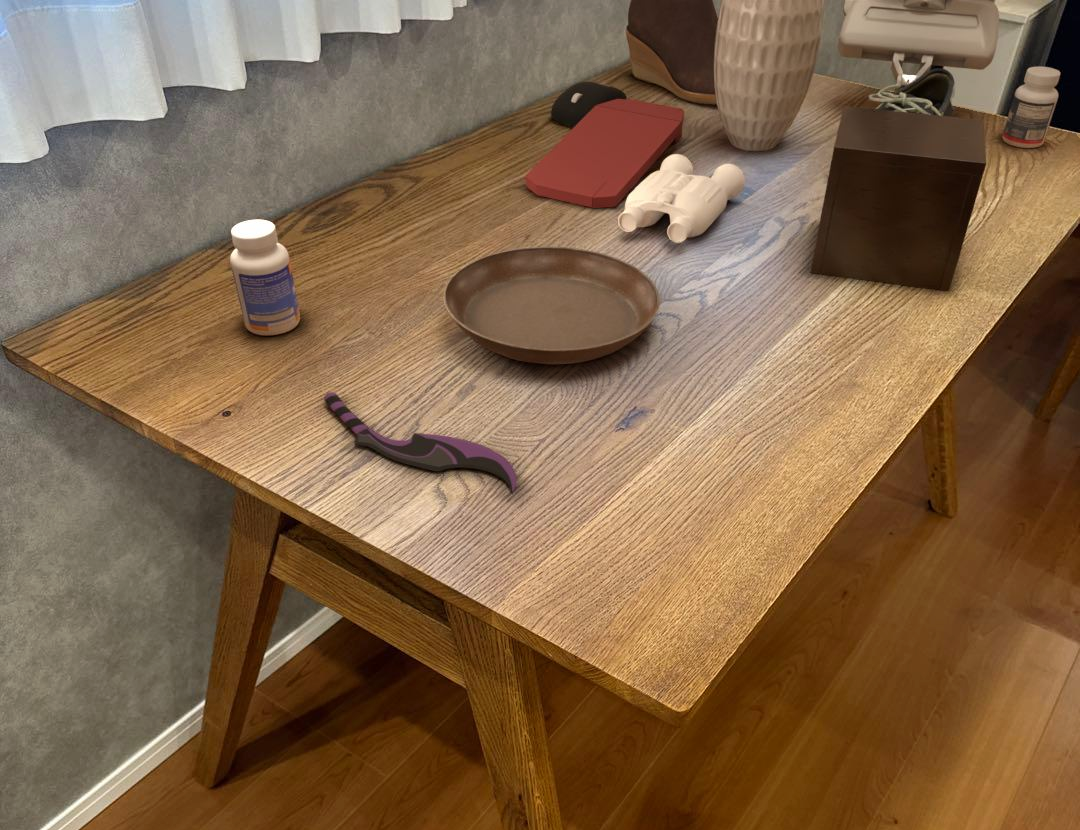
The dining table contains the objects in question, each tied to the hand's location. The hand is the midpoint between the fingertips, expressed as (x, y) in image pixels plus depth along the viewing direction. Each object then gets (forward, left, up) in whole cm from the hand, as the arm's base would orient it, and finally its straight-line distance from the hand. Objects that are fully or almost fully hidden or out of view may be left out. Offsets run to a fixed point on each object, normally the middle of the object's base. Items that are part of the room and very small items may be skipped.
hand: (905, 91), depth 137 cm
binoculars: (+23, +39, -5) cm, 45 cm away
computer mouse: (+41, +9, -5) cm, 42 cm away
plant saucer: (+30, +66, -5) cm, 72 cm away
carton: (+34, +26, -5) cm, 43 cm away
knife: (+35, +88, -4) cm, 95 cm away
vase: (+18, +13, -5) cm, 23 cm away
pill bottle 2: (-16, +2, -5) cm, 17 cm away
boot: (+30, -5, -5) cm, 31 cm away
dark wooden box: (0, +42, -4) cm, 42 cm away
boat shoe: (0, +11, -5) cm, 12 cm away
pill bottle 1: (+56, +74, -5) cm, 93 cm away
